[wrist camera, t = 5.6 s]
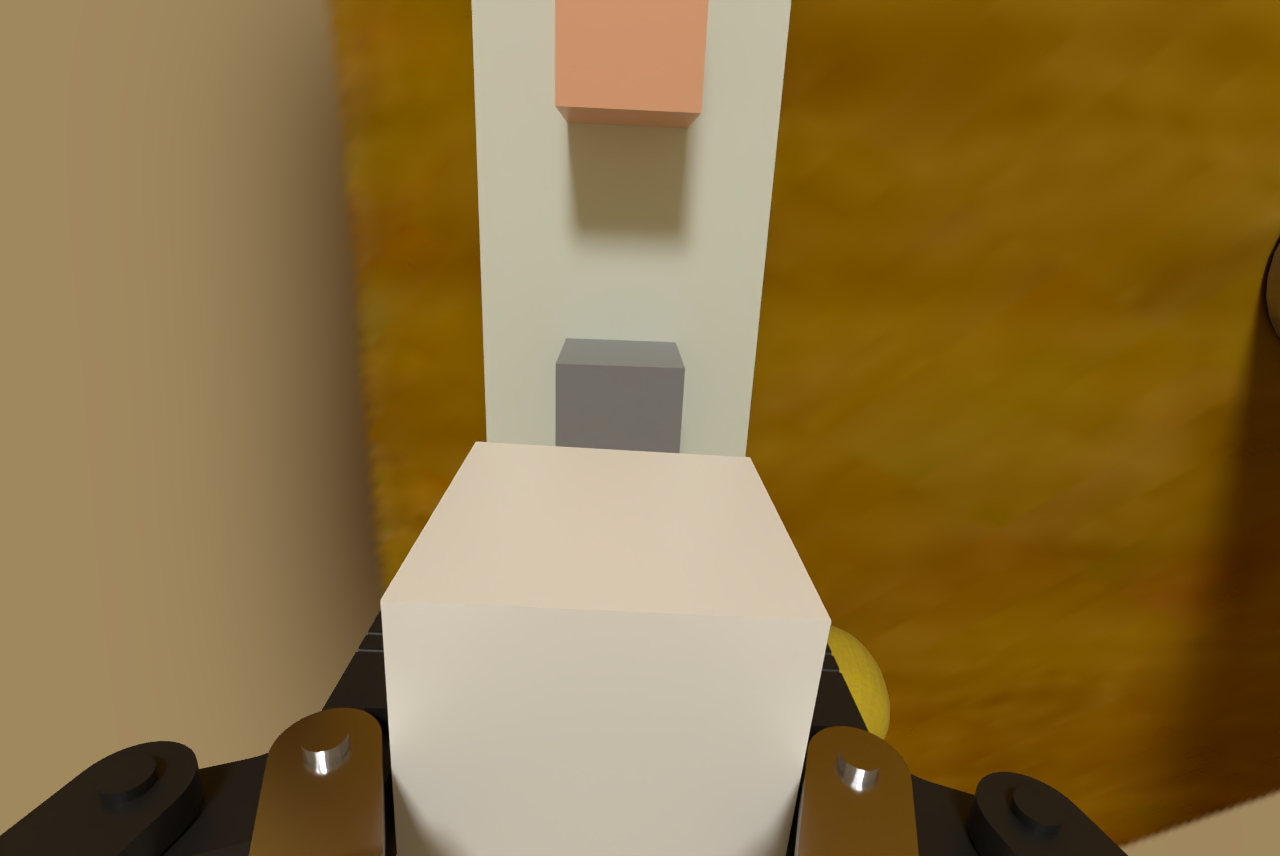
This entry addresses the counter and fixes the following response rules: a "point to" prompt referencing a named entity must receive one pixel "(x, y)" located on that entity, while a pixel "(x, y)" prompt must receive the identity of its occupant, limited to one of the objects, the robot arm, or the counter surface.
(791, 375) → the counter surface
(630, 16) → the terracotta brick
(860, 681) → the lemon
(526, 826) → the cream brick
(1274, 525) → the counter surface
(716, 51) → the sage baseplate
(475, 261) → the counter surface
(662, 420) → the charcoal brick
